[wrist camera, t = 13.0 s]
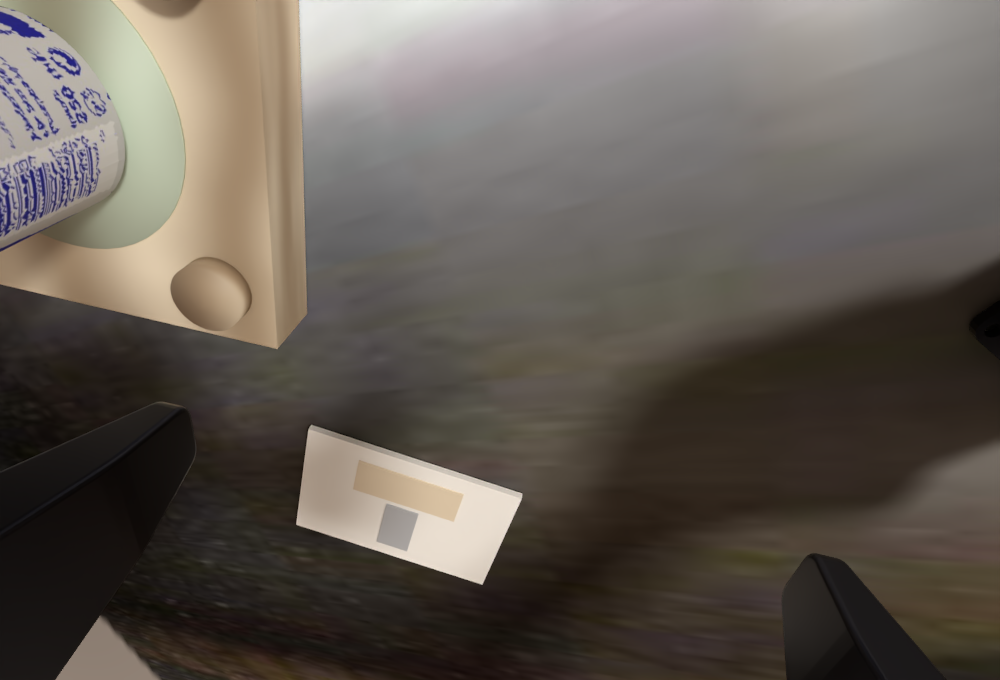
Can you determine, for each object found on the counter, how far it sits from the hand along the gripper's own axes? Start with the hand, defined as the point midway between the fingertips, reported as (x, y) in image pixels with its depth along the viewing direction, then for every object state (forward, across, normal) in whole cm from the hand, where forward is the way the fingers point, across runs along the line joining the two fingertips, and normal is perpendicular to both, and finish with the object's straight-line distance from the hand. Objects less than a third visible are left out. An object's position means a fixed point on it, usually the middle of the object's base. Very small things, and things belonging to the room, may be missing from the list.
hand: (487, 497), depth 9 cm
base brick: (+13, +16, 0) cm, 20 cm away
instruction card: (+13, +4, +17) cm, 22 cm away
